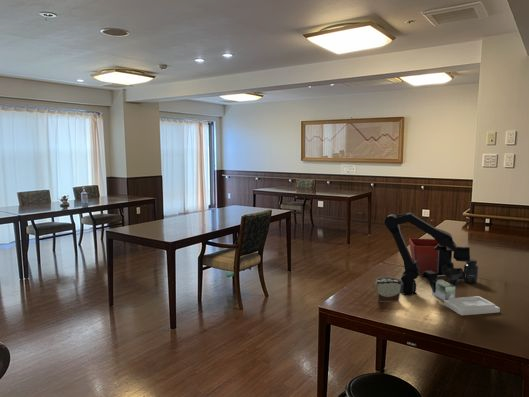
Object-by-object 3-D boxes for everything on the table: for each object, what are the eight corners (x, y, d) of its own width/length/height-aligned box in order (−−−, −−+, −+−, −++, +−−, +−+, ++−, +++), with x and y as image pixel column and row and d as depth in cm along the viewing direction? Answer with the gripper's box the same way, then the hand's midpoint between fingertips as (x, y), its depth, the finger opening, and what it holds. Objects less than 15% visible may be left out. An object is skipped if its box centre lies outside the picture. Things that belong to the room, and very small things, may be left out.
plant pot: (450, 277, 215) (451, 247, 213) (413, 275, 218) (414, 245, 216) (441, 267, 233) (443, 239, 231) (407, 265, 237) (408, 238, 235)
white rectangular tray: (461, 315, 166) (461, 308, 165) (443, 304, 177) (444, 297, 177) (499, 312, 169) (500, 305, 168) (479, 301, 180) (480, 295, 180)
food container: (397, 296, 188) (397, 276, 186) (401, 301, 182) (402, 280, 180) (371, 296, 187) (371, 276, 186) (375, 301, 181) (375, 280, 180)
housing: (444, 302, 181) (445, 287, 180) (432, 294, 190) (432, 280, 190) (454, 301, 181) (455, 286, 181) (441, 293, 191) (442, 279, 190)
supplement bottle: (469, 284, 203) (471, 262, 201) (459, 280, 209) (461, 258, 208) (480, 283, 205) (482, 260, 203) (470, 279, 211) (471, 257, 210)
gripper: (436, 265, 174) (435, 299, 176) (474, 263, 177) (472, 296, 179) (422, 258, 185) (421, 291, 187) (458, 256, 188) (456, 288, 190)
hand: (443, 292), depth 186 cm, fingers open, 9 cm apart
